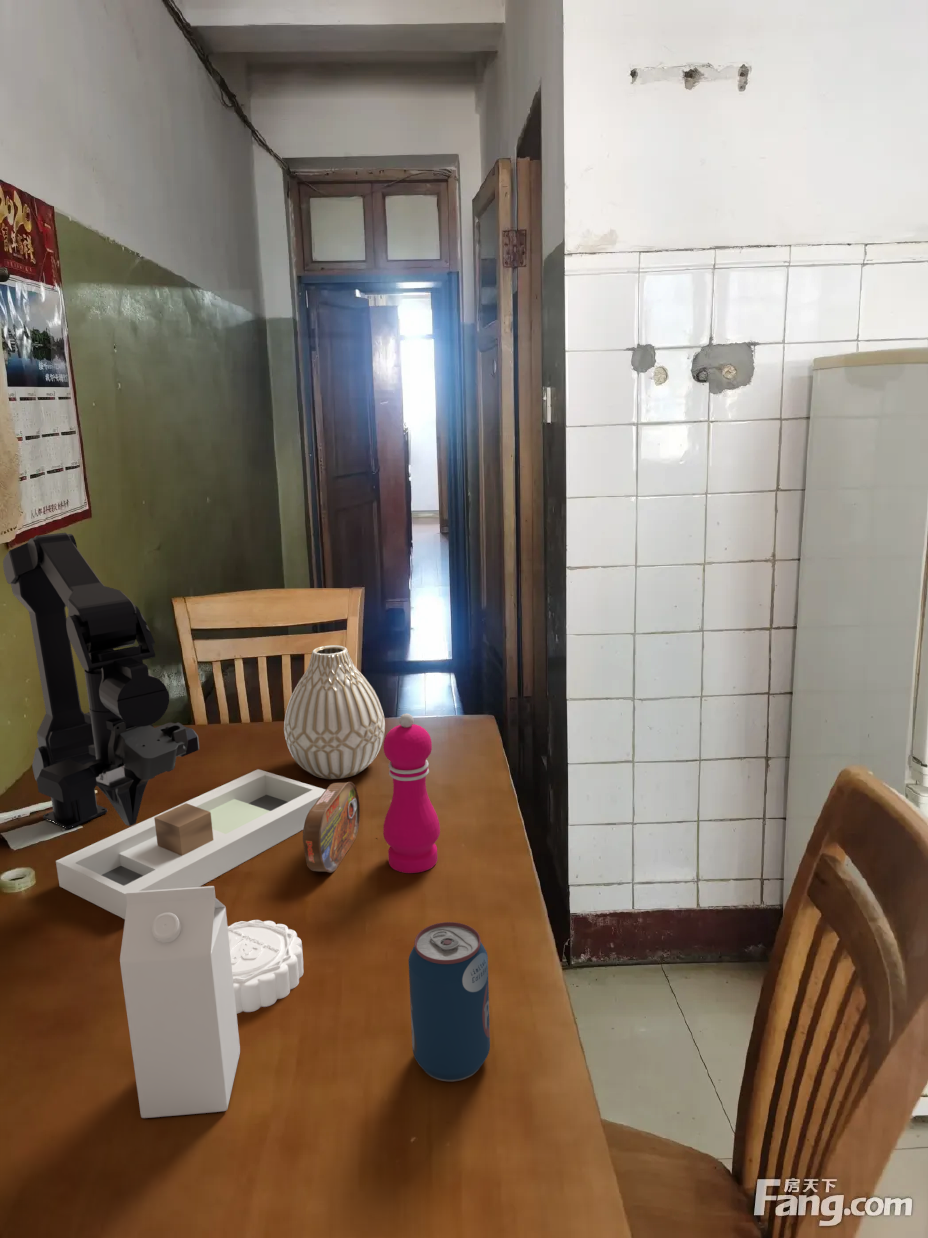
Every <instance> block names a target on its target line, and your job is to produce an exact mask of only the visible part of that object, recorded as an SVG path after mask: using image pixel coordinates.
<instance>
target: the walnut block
mask: <svg viewBox="0 0 928 1238" xmlns="http://www.w3.org/2000/svg"><path fill="white" fill-rule="evenodd" d="M184 803H185V802H184ZM173 808H174V807H173ZM162 813H163V812H162ZM154 820H155V828H156V836H157V844H158V846H159V847H162V848H164V849H167V850H169V851H171V852H174V853H176V854H179V855H181V856H183V855H185V854H187V853H189V852H191V851H193V850H195V849H197V848H199V847H201V846H203V845H205V844H207V843H209V842H211V841H213V831H212V821H211V812H209V811H206V810H203V809H201V808H198V807H195V806H192V805H190V804H187V803H185V804H183V805H181V806H179V807H177V808H174V809H172V810H170V811H168V812H166V813H163V814H161V815H159V816H157V817H155V818H154Z"/></svg>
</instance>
